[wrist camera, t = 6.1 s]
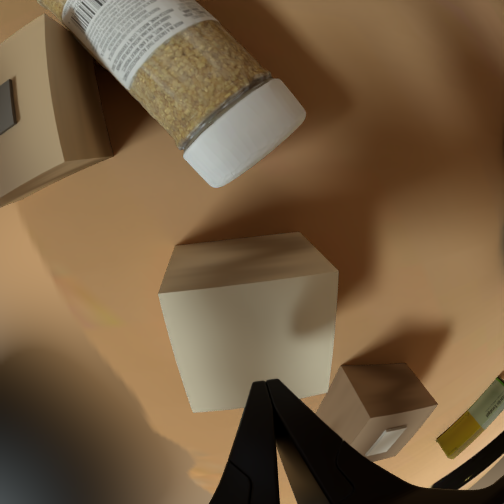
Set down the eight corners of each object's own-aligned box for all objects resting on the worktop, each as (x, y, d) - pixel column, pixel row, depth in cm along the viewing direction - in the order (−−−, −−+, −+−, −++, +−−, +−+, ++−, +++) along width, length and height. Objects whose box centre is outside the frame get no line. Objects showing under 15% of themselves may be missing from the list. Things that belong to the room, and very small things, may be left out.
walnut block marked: (404, 362, 19) (439, 406, 14) (372, 414, 21) (396, 457, 16) (340, 364, 18) (371, 420, 13) (310, 420, 20) (330, 472, 15)
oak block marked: (92, 48, 10) (41, 11, 5) (114, 156, 12) (61, 162, 7) (4, 100, 10) (-58, 95, 5) (23, 198, 12) (-39, 224, 7)
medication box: (497, 373, 24) (514, 389, 20) (501, 379, 25) (517, 394, 21) (434, 440, 26) (447, 459, 22) (441, 442, 27) (453, 460, 23)
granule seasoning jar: (58, 16, 8) (216, 184, 13) (15, -13, 4) (214, 204, 9) (125, -39, 8) (293, 121, 12) (101, -82, 4) (329, 111, 8)
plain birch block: (298, 231, 14) (338, 271, 10) (299, 331, 16) (327, 392, 12) (175, 245, 14) (157, 293, 9) (195, 345, 16) (193, 412, 11)
